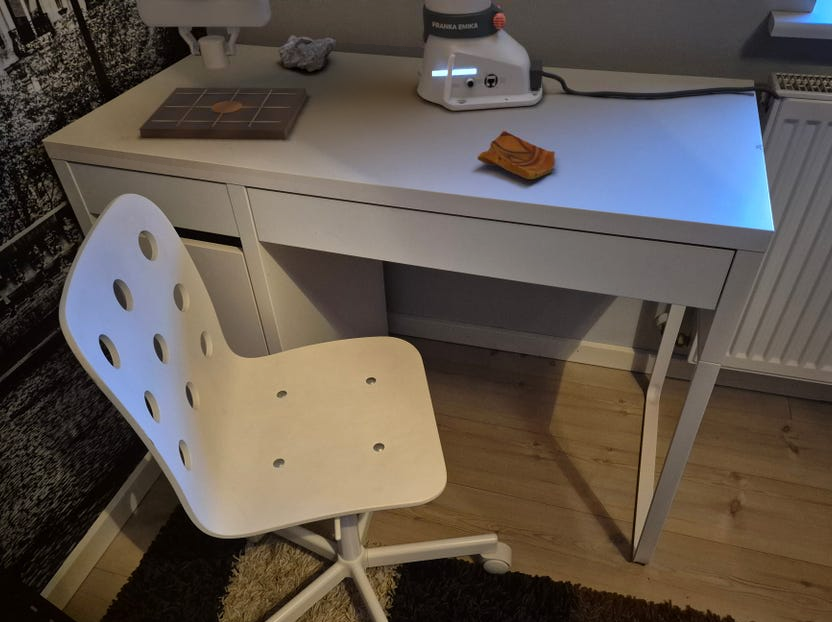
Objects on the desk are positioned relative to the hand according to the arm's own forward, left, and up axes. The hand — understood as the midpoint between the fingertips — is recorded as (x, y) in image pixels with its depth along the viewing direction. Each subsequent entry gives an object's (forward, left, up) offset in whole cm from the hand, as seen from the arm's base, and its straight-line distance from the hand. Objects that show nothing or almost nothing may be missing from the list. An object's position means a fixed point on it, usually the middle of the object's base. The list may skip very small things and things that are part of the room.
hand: (214, 55), depth 108 cm
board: (0, 0, -10) cm, 10 cm away
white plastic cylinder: (0, 0, -2) cm, 2 cm away
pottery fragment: (-49, +18, -10) cm, 53 cm away
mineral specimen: (-9, -26, -10) cm, 29 cm away
